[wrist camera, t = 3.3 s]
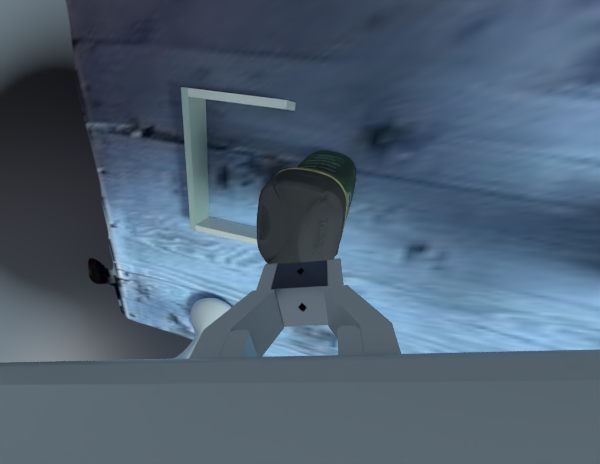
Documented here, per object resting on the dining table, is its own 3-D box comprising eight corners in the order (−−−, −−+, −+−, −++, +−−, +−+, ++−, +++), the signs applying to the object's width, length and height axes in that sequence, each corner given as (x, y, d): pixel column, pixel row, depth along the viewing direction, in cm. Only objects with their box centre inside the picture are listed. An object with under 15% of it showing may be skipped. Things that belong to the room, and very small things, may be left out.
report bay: (295, 102, 34) (286, 100, 30) (281, 238, 43) (273, 249, 39) (199, 90, 37) (180, 86, 33) (204, 221, 45) (190, 229, 42)
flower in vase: (200, 331, 57) (91, 463, 35) (192, 288, 53) (61, 410, 30) (254, 342, 54) (173, 495, 32) (250, 299, 50) (153, 442, 27)
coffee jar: (305, 146, 36) (250, 166, 19) (361, 155, 35) (353, 185, 18) (297, 210, 40) (245, 272, 23) (347, 220, 39) (329, 294, 22)
